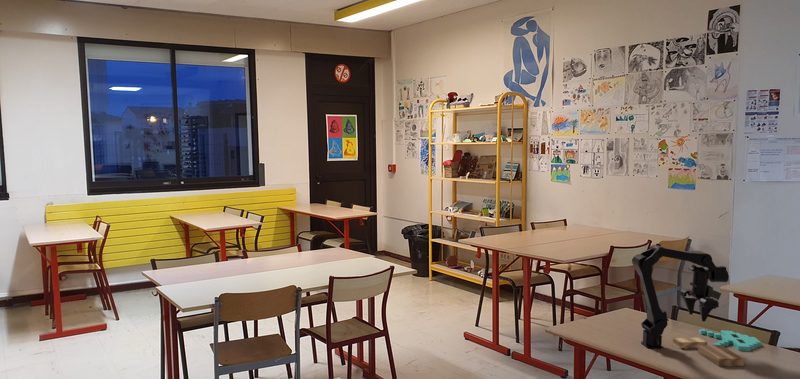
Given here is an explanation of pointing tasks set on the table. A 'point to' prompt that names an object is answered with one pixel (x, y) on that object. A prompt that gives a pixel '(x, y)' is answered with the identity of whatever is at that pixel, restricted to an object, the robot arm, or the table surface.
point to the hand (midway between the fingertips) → (697, 317)
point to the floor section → (720, 355)
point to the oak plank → (688, 342)
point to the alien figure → (733, 339)
